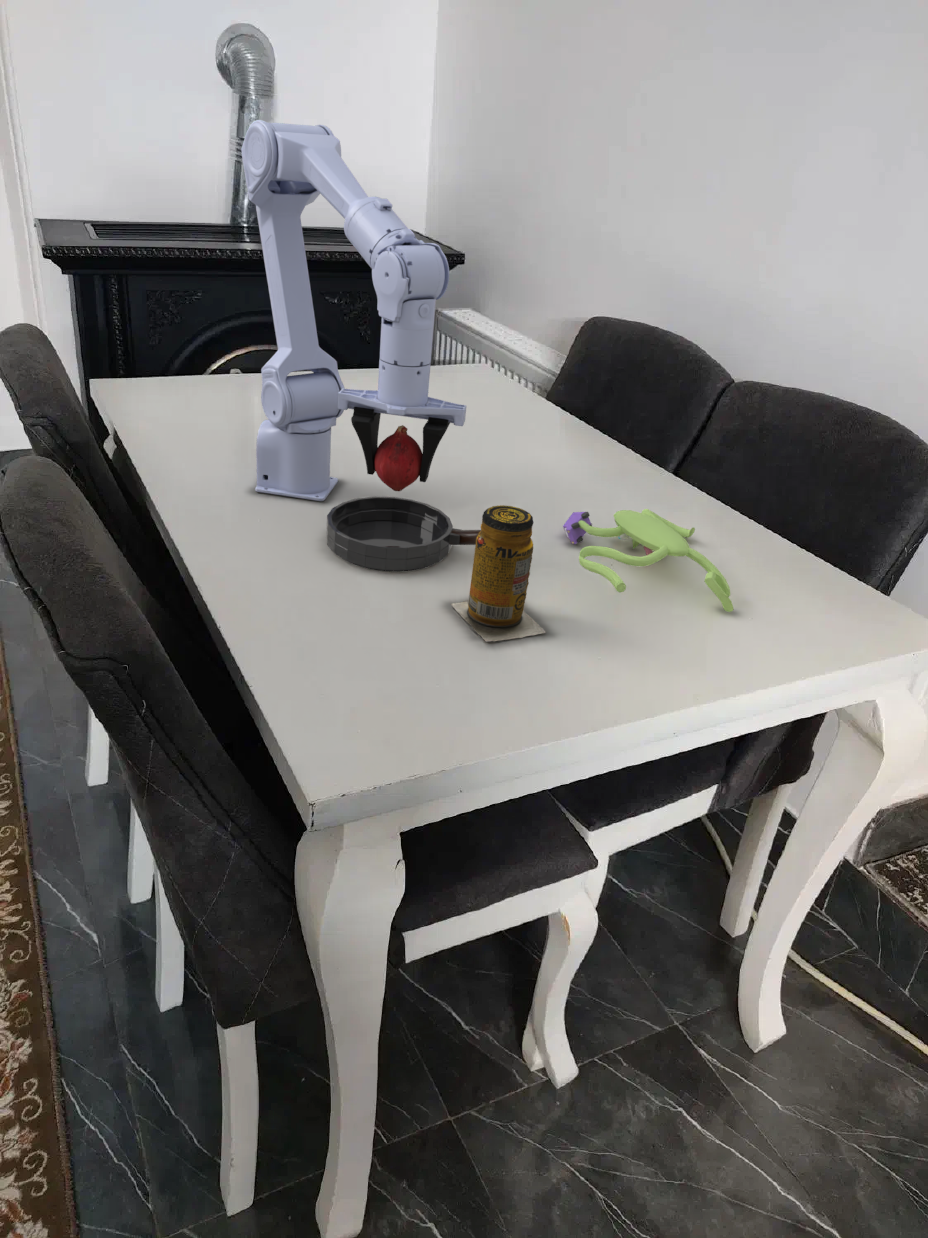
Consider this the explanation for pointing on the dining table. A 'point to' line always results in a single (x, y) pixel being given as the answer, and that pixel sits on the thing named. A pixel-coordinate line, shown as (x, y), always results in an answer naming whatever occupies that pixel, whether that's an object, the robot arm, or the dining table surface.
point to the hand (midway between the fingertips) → (397, 475)
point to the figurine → (651, 536)
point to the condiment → (501, 576)
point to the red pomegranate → (398, 460)
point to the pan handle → (463, 537)
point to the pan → (388, 533)
